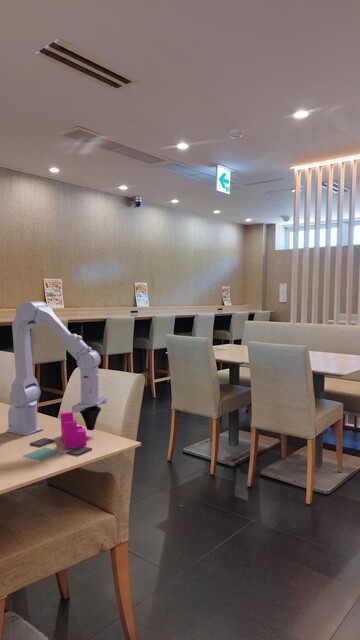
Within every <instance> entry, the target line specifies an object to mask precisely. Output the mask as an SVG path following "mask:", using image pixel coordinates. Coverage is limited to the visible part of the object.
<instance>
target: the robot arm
mask: <svg viewBox="0 0 360 640" xmlns="http://www.w3.org/2000/svg"><path fill="white" fill-rule="evenodd" d="M37 323H38V324H42V325H43V324H44V325H46V326H47V327H48V328H49V329H51V331H53V333H55V334H56V335H57V336H58V338H60V339H61V340H62V346H63V347H64V348H65V350H66V351H67V352H68V353H69V354H70V355H71V356H72V357H73V358H74V359H75V361H76V365H77V367H78V369H79V371H80V374H79V376H80V402H78V403H76V404H73V405H71V412H73V414H74V413H75V414H77V413H80V415H81V416H82V419H83V422H84V424H85V427H86V428H85V429H86V430H87V431H94V430H95V426H96V423H97V420H98V417H99V414H100V413H101V411H102V409H101V408H102V407H100V405H106V404H108V400H107V399H108V397H104V396H102V397H100V395H99V394H100V393H99V390H100V389H99V387H100V385H99V365H100V364H101V362H102V361H101V360H102V359H101V355H100V354H99V351H97V350H95V349H94V350H93V349H92V347H91V346H89V345H88V344H86V342H84V340H83V336H81V335H78V334H77V333H71V332H70V330H69V329H68V328H67V327H66V325H64V323H63V322H62V321H61V320H60V318H58V316H57V315H56V314H55V313H54V310H53V309H52V307H50V306H49V305H48V304H47V303H46V302H45V301H44V300H43V301H42V300H37V301H26V300H25V301H22V302H21V303H20V304H19V305H18V306H17V307H16V308H15V315H14V319H13V322H12V325H11V328H12V329H11V330H12V339H13V340H12V341H13V342H12V343H13V354H14V356H13V357H14V367H15V369H14V370H15V378H14V380H13V381H12V383H11V391H10V394H9V400H10V403H11V404H12V405H10V407H9V409H8V411H7V419H8V421H7V423H8V428H7V429H6V430H5V431H6V432H8V433H12V434H17V435H21V436H28V435H31V434H35V433H36V432H40V431H44V427H39V426H38V400H39V399H40V397H41V392H42V391H41V389H40V386H39V384H38V380H37V378H36V377H35V376H34V369H33V355H32V343H31V341H32V339H31V329H32V328H33V327H34V326H35V325H36V324H37Z"/></svg>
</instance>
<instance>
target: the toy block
mask: <svg viewBox="0 0 360 640" xmlns="http://www.w3.org/2000/svg"><path fill="white" fill-rule="evenodd" d="M60 429H61V430H60V432H61V439H62V442H63V445H64V449H65V450H66V449H67V450H68V449H74V448H77V447H83V446H84V447H87V431H86V430H87V429H86V428H85V427H83V425H80V426H78V421H77V420H76V419H74V412H72V411H64V412H60Z"/></svg>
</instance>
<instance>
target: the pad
mask: <svg viewBox="0 0 360 640" xmlns="http://www.w3.org/2000/svg"><path fill="white" fill-rule="evenodd" d="M63 453H64V451H61V450H58V449H57V450H56V449H53V448H48V447H44V446H43V447H42V448H39V449H36V450H34V451H31V452H28V453H26V454H23V455H22V457H23V458H28V459H31V460H35V461H39V462H43V461H45V460H48V459H51V458H53V457H55V456H58V455H61V454H63Z"/></svg>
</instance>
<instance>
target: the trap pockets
mask: <svg viewBox="0 0 360 640" xmlns="http://www.w3.org/2000/svg"><path fill="white" fill-rule="evenodd" d="M55 440H56V439H51V438H47V437H43V438H39V439H38V440H35V441H32V442H29V445H30V446H34V447H37V448H38V447H39V448H41V447H44V446H47V445H49V444H51V443H55ZM92 450H93V448H92V447H87V446H83V447H76V448H71V449H69V450H67V451H66V455H67V454H68V455H73V456H75V457H79V456H81V455H83V454H86V453H88V452H91V451H92Z"/></svg>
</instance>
